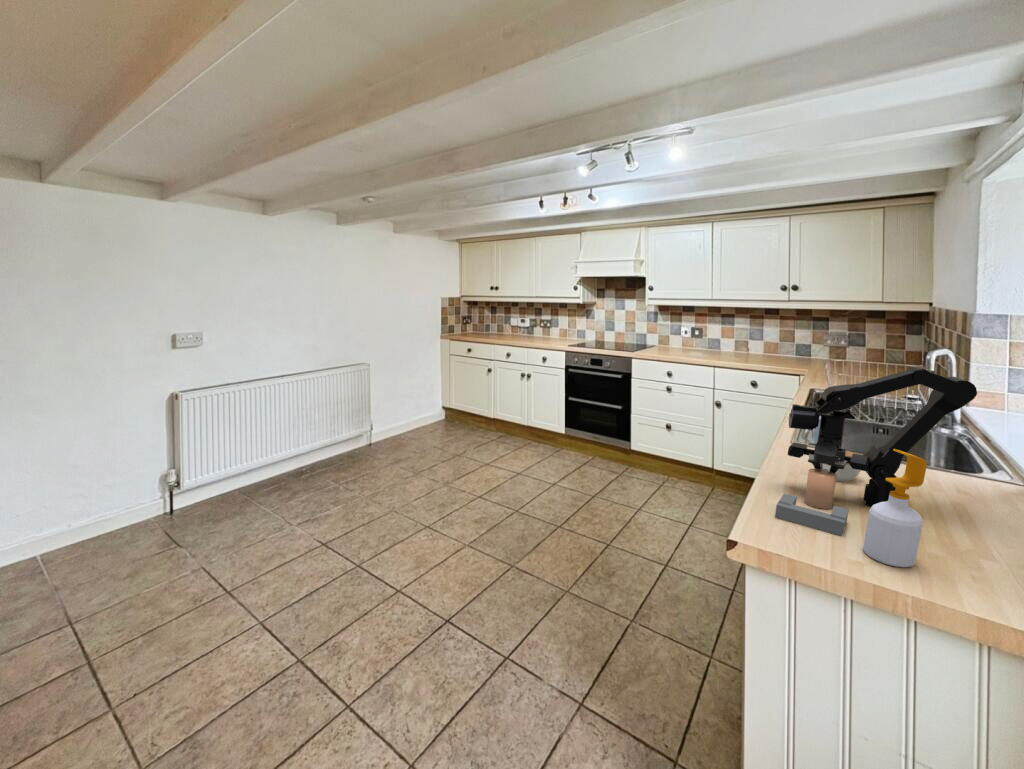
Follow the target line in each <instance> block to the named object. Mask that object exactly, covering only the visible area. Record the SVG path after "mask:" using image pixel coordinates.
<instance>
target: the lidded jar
mask: <svg viewBox="0 0 1024 769" xmlns="http://www.w3.org/2000/svg"><path fill="white" fill-rule="evenodd" d="M853 453H854V454H857V453H856V452H852V451H848V450H846V454H845V456H850V457H852V455H853ZM830 467H831V466H830V465H827V464H823V469H827V470H828V471H830ZM861 471H862V470H857V469H853V468H852V467H851V466H850V464H849V463H846V465H845V467H844V469H838V470H837V472H836V473H835V474H836V475H837V477H836V480H837V481H836V482H840V481H841V483H848V482H851V480H854V479H855V478H857V477H858V476H859V475H860V472H861Z"/></svg>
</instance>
